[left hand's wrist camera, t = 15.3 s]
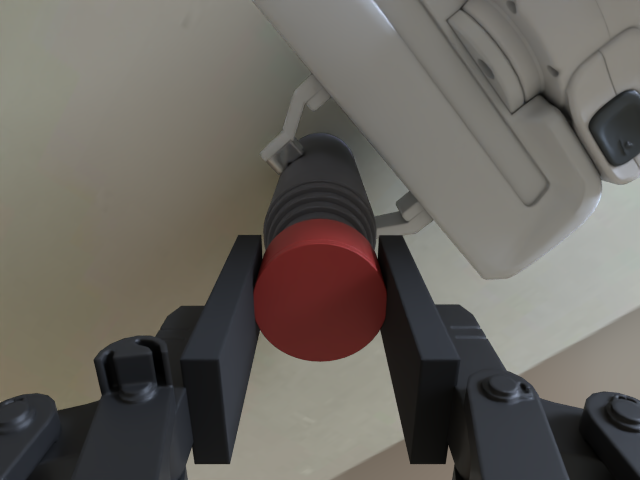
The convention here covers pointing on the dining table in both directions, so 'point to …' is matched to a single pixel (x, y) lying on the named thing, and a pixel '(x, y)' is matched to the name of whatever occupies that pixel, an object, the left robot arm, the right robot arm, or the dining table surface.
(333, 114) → the dining table surface
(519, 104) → the right robot arm
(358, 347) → the cap
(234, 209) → the dining table surface
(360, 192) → the bottle
